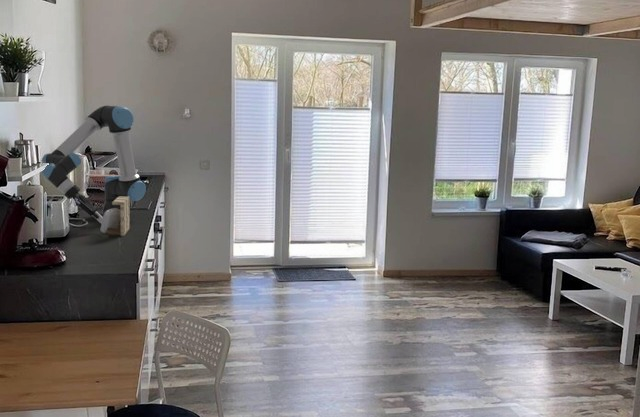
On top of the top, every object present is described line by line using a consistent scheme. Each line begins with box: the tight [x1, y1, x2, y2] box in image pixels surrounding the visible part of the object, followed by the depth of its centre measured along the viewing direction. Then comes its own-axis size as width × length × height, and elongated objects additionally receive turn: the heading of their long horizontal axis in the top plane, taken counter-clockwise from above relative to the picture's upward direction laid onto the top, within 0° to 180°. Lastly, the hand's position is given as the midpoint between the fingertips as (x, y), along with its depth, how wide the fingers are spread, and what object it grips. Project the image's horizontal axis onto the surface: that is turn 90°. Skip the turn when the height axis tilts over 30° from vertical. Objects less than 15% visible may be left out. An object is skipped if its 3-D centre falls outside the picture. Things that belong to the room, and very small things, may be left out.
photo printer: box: [99, 208, 121, 234], centre depth 321 cm, size 10×4×12 cm, turn 160°
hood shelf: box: [106, 196, 131, 237], centre depth 322 cm, size 18×8×17 cm, turn 8°
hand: (103, 222), depth 321 cm, fingers closed
